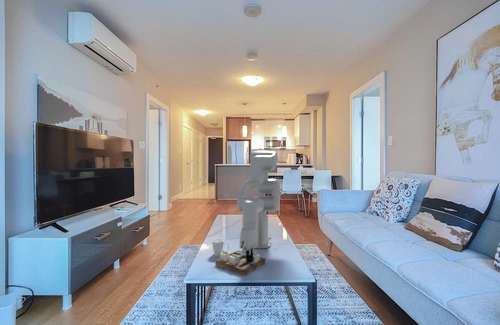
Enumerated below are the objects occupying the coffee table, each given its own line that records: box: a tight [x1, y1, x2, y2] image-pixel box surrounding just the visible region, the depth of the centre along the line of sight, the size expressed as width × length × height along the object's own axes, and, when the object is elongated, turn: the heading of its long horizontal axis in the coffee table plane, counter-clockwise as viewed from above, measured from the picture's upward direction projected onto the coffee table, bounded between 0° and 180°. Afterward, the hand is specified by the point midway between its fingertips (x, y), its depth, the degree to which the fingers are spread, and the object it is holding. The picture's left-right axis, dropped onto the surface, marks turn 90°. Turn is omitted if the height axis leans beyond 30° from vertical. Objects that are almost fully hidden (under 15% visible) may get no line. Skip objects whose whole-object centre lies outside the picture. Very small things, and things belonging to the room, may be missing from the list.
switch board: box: [215, 250, 267, 277], centre depth 129 cm, size 18×19×3 cm
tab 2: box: [251, 252, 260, 264], centre depth 128 cm, size 4×4×5 cm
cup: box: [211, 238, 230, 257], centre depth 143 cm, size 7×10×8 cm
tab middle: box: [229, 254, 240, 265], centre depth 125 cm, size 4×4×5 cm
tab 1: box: [219, 250, 231, 262], centre depth 129 cm, size 4×4×5 cm
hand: (249, 261), depth 124 cm, fingers closed
